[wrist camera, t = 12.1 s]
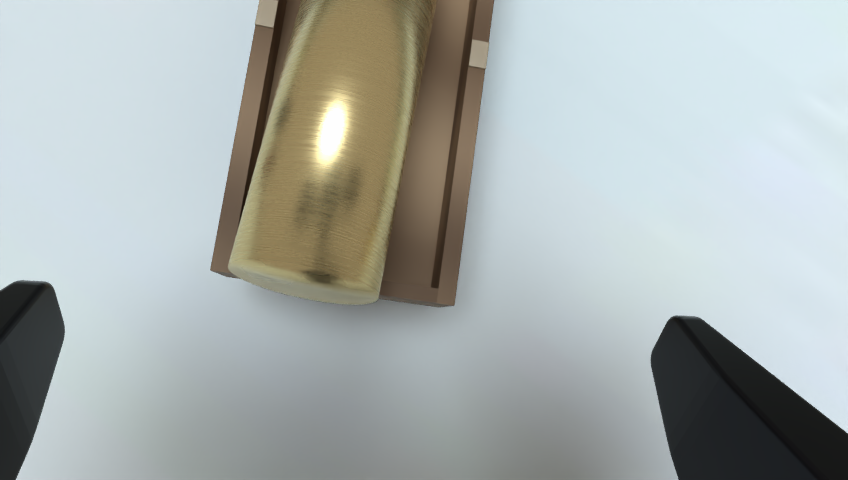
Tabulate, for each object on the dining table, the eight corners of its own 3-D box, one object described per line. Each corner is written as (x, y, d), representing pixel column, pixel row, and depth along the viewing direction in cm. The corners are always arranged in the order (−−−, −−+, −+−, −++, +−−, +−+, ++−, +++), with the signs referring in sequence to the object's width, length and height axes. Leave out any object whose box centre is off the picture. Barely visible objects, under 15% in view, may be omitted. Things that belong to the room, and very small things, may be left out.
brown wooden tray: (438, 307, 20) (454, 305, 17) (226, 276, 19) (209, 270, 17) (493, -109, 22) (516, -169, 20) (304, -152, 21) (300, -221, 19)
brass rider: (380, 6, 21) (311, 305, 18) (294, -69, 18) (197, 264, 15) (469, -32, 18) (409, 304, 15) (386, -125, 16) (293, 255, 13)
